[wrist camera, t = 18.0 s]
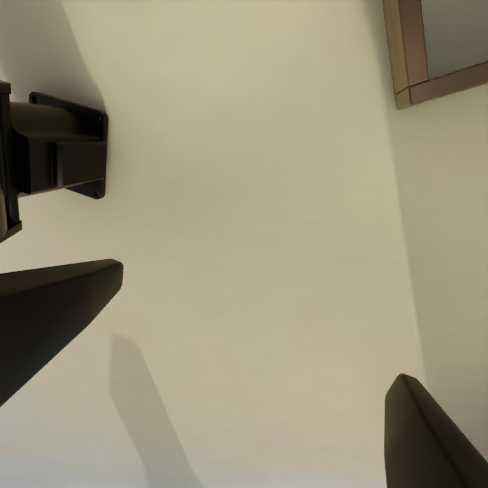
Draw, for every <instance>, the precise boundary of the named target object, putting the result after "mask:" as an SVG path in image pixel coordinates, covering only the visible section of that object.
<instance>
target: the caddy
mask: <svg viewBox="0 0 488 488" xmlns="http://www.w3.org/2000/svg"><path fill="white" fill-rule="evenodd" d="M382 1H383V9H384V16H385V24H386V31H387V39H388V47H389V54H390V62H391V69H392V77H393V84H394V92H395V94H397V95H396V96H395V99H396V106H397V110H400V109H403V108H407V107H410V106H414V105H417V104H420V103H424V102H427V101H430V100H434V99H437V98H440V97H444V96H447V95H450V94H454V93H457V92H460V91H464V90H467V89H470V88H474V87H477V86H480V85H484V84H487V83H488V61H486V62H483V63H480V64H477V65H474V66H471V67H468V68H465V69H461V70H458V71H455V72H452V73H449V74H446V75H443V76H440V77H437V78H433V79H430V80H428V79H429V76H428V66H427V56H426V46H425V37H424V27H423V17H422V7H421V0H382Z"/></svg>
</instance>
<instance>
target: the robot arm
mask: <svg viewBox="0 0 488 488" xmlns="http://www.w3.org/2000/svg"><path fill="white" fill-rule="evenodd" d="M9 94H11V85H10V83H8V82H4V81H1V80H0V243H1V242H3V241H4V240H6V239H8V238H9V237H11V236H12V235H14V234H16V233H17V232H19V231H20V230H22V221H21V220H20V218H19V206H18V198H20V197H25V196H29V195H34V194H39V193H44V192H48V191H53V190H58V189H63V188H66V189H69V190H71V191H74V192H77V193H80V194H83V195H86V196H88V197H91V198H94V199H101V198H103V197H104V195H105V179H106V156H107V133H108V117H107V114H106V113H105V112H103V111H101V110H97V109H94V108H90V107H87V106H84V105H80V104H77V103H73V102H70V101H67V100H63V99H60V98H56V97H53V96H49V95H46V94H43V93H39V92H31V93H30V94H29V103H19V102H10V99H9ZM99 116H100V117H101V121H100V120H99ZM97 191H98V193H99V194H97ZM122 280H123V264H122V263H121V262H119V261H117V260H114V259H104V260H97V261H90V262H82V263H75V264H68V265H60V266H53V267H46V268H38V269H31V270H24V271H16V272H9V273H2V274H0V407H1V406H2V405H3V404H4V403H5V402H6V401H7V400H8V399H9V398H10V397H12V396H13V395H14V394H15V393H16V392H17V391H18V390H19V389H20V388H21V387H22V386H23V385H24V384H26V383H27V382H28V381H29V380H30V379H31V378H32V377H33V376H34V375H35V374H36V373H37V372H38V371H40V370H41V369H42V368H43V367H44V366H45V365H46V364H47V363H48V362H49V361H50V360H51V359H52V358H54V357H55V356H56V355H57V354H58V353H59V352H60V351H61V350H62V349H63V348H64V347H65V346H66V345H68V344H69V343H70V342H71V341H72V340H73V339H74V338H75V337H76V336H77V335H78V334H79V333H80V332H82V331H83V330H84V329H85V328H86V327H87V326H88V325H89V324H90V323H91V322H92V321H93V320H94V318H95V317H96V316H97V315H98V314H99V313H100V312H101V311H102V309H103V308H104V307H105V306H106V305H107V304H108V303H109V301H110V300H111V299H112V298H113V297H114V296H115V295H116V293H117V292H118V291H119V290H120V288H121V286H122ZM384 456H385V469H386V480H387V488H488V462H487V461H486V460H485V459H484V458H483V456H482V455H481V454H480V453H479V452H478V450H477V449H476V448H475V447H474V446H473V445H472V443H471V442H470V441H469V440H468V439H467V437H466V436H465V435H464V434H463V433H462V432H461V430H460V429H459V428H458V427H457V426H456V424H455V423H454V422H453V421H452V420H451V419H450V417H449V416H448V415H447V414H446V413H445V411H444V410H443V409H442V408H441V407H440V406H439V404H438V403H437V402H436V401H435V400H434V398H433V397H432V396H431V395H430V394H429V393H428V391H427V390H426V389H425V388H424V387H423V385H422V384H421V383H420V382H419V381H418V380H417V379H416V378H414V377H411V376H409V375H406V374H403V373H402V374H399V375H398V376H397V378H396V379H395V381H394V382H393V384H392V386H391V387H390V389H389V390H388V392H387V394H386V398H385V436H384Z"/></svg>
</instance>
